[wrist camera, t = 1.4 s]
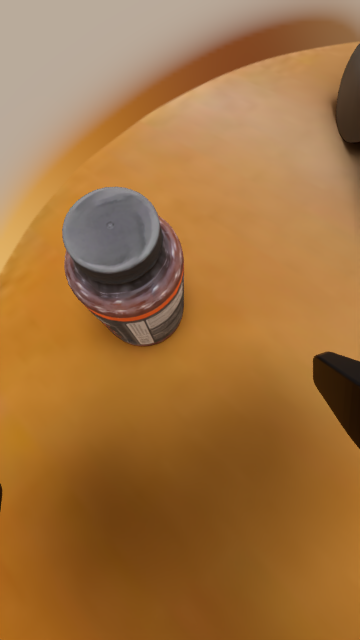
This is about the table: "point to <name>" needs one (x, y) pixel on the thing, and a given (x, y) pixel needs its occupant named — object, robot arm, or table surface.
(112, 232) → the supplement bottle
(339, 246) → the table surface
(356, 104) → the trolley
